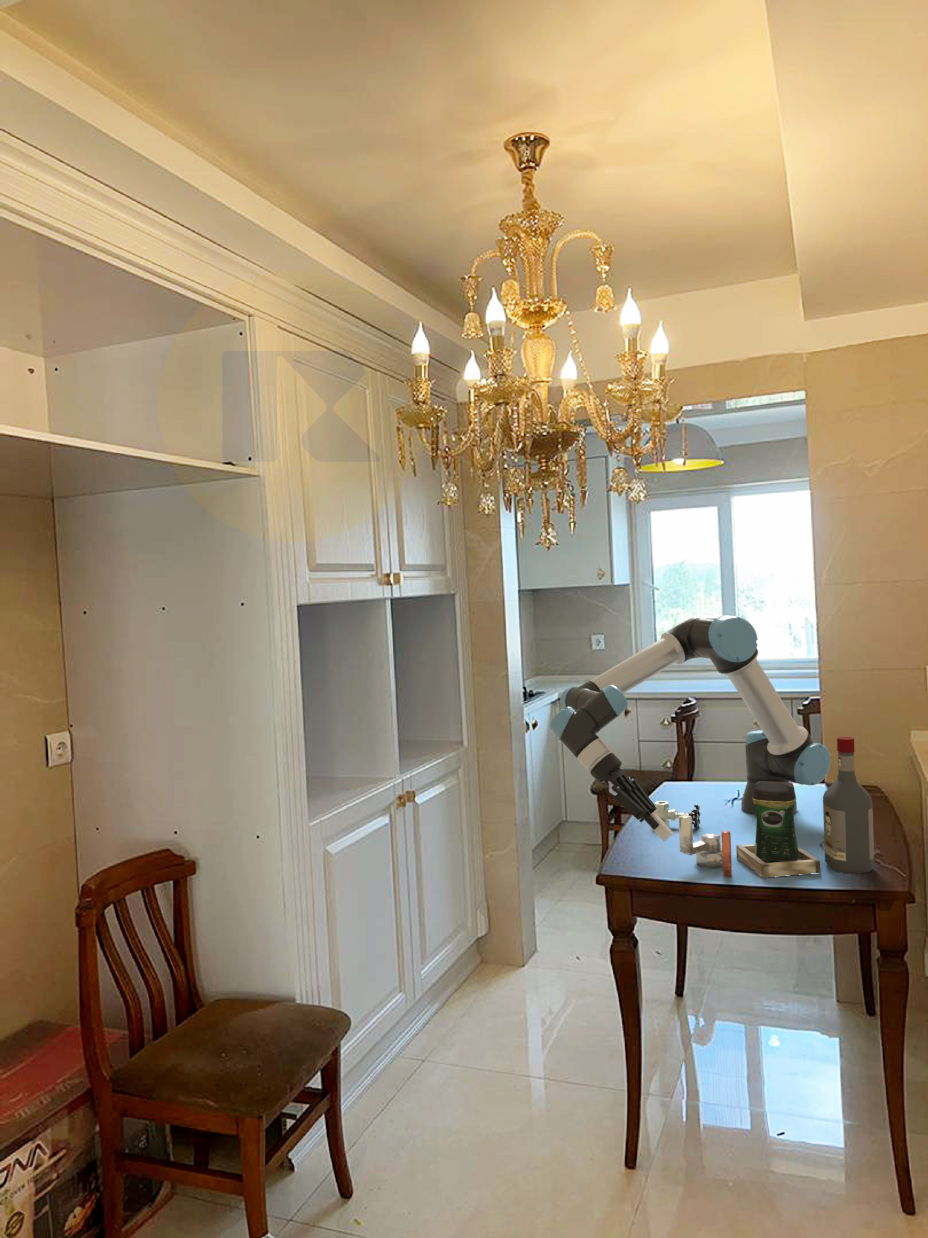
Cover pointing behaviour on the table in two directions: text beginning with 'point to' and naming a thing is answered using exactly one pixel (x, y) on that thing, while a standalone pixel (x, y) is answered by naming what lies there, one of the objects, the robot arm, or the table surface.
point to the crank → (689, 848)
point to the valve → (676, 813)
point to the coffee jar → (775, 822)
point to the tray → (778, 863)
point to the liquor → (848, 817)
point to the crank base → (718, 856)
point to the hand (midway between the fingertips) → (668, 837)
